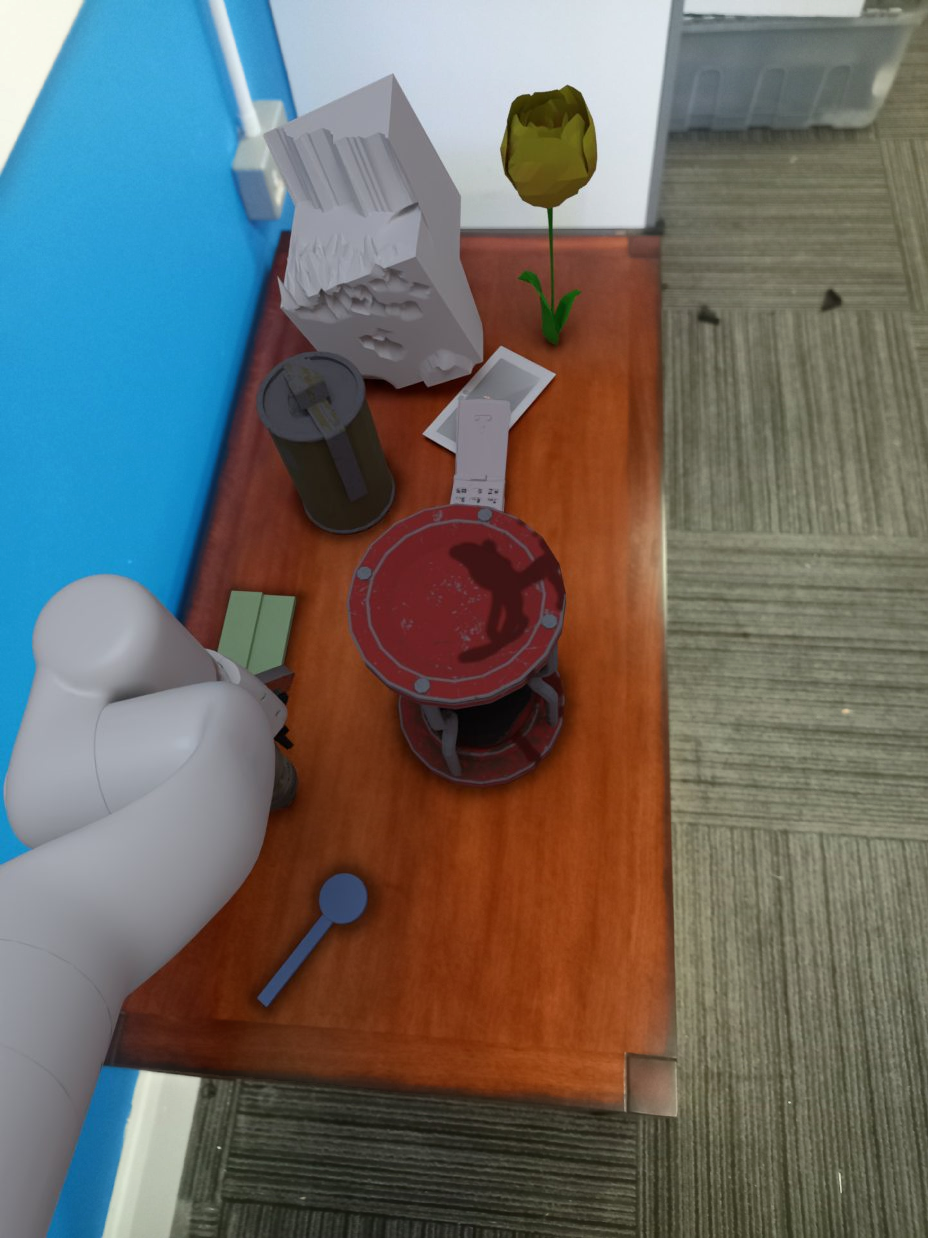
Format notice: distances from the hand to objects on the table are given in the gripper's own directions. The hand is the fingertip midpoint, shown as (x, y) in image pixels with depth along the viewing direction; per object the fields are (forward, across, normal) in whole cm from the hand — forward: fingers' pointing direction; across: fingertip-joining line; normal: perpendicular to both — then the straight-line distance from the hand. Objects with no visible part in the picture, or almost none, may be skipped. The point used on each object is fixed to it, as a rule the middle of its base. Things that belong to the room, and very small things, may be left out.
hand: (254, 766), depth 77 cm
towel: (+10, +9, +13) cm, 19 cm away
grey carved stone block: (+10, +49, +27) cm, 57 cm away
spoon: (+10, -8, -11) cm, 17 cm away
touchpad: (+10, +47, +11) cm, 49 cm away
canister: (+10, +29, +17) cm, 35 cm away
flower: (+10, +59, +11) cm, 61 cm away
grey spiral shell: (+10, 0, 0) cm, 10 cm away
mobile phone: (+10, +34, +3) cm, 36 cm away
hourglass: (+10, +18, -10) cm, 23 cm away
